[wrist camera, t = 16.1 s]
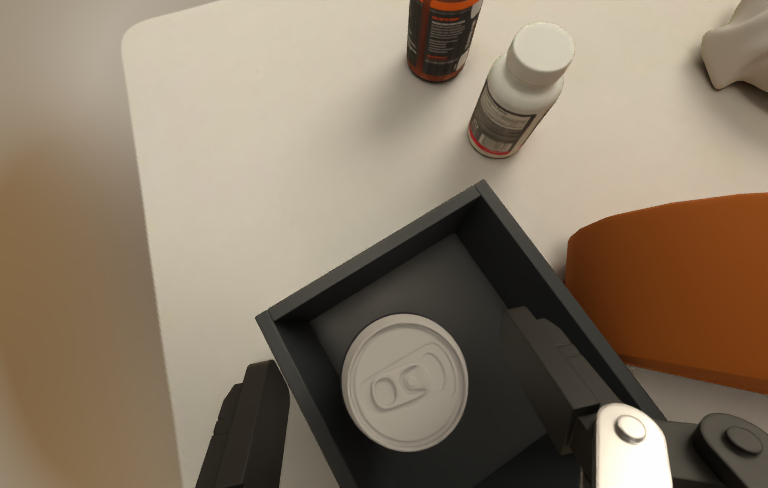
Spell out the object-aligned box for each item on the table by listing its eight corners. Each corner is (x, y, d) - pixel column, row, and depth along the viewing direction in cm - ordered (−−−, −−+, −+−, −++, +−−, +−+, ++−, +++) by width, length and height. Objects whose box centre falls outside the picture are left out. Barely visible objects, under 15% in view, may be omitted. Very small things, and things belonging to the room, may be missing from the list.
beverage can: (440, 378, 24) (501, 430, 12) (369, 406, 23) (363, 489, 12) (414, 307, 25) (446, 292, 14) (346, 332, 25) (318, 338, 13)
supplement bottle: (476, 71, 31) (522, -65, 20) (422, 93, 31) (441, -33, 20) (447, 28, 33) (476, -121, 22) (396, 49, 32) (399, -93, 21)
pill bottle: (501, 100, 31) (551, 0, 21) (535, 142, 29) (605, 56, 20) (455, 126, 30) (485, 35, 20) (488, 170, 29) (537, 95, 19)
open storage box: (415, 537, 22) (432, 672, 14) (298, 318, 26) (253, 317, 17) (587, 409, 24) (697, 459, 15) (454, 222, 28) (484, 178, 19)
